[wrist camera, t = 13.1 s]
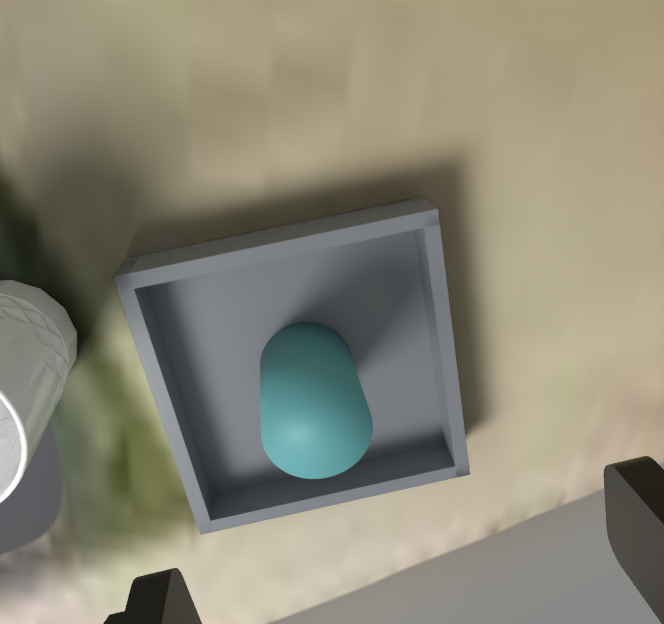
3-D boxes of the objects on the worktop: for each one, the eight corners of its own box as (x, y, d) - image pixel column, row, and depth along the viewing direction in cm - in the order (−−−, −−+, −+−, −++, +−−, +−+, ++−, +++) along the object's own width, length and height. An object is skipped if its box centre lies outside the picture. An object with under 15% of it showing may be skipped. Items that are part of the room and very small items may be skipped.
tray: (422, 196, 33) (437, 208, 30) (455, 445, 39) (470, 474, 36) (124, 258, 33) (112, 277, 30) (204, 500, 39) (200, 534, 36)
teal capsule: (342, 313, 34) (362, 370, 28) (358, 393, 36) (381, 465, 30) (250, 333, 34) (249, 396, 28) (271, 413, 36) (275, 489, 30)
